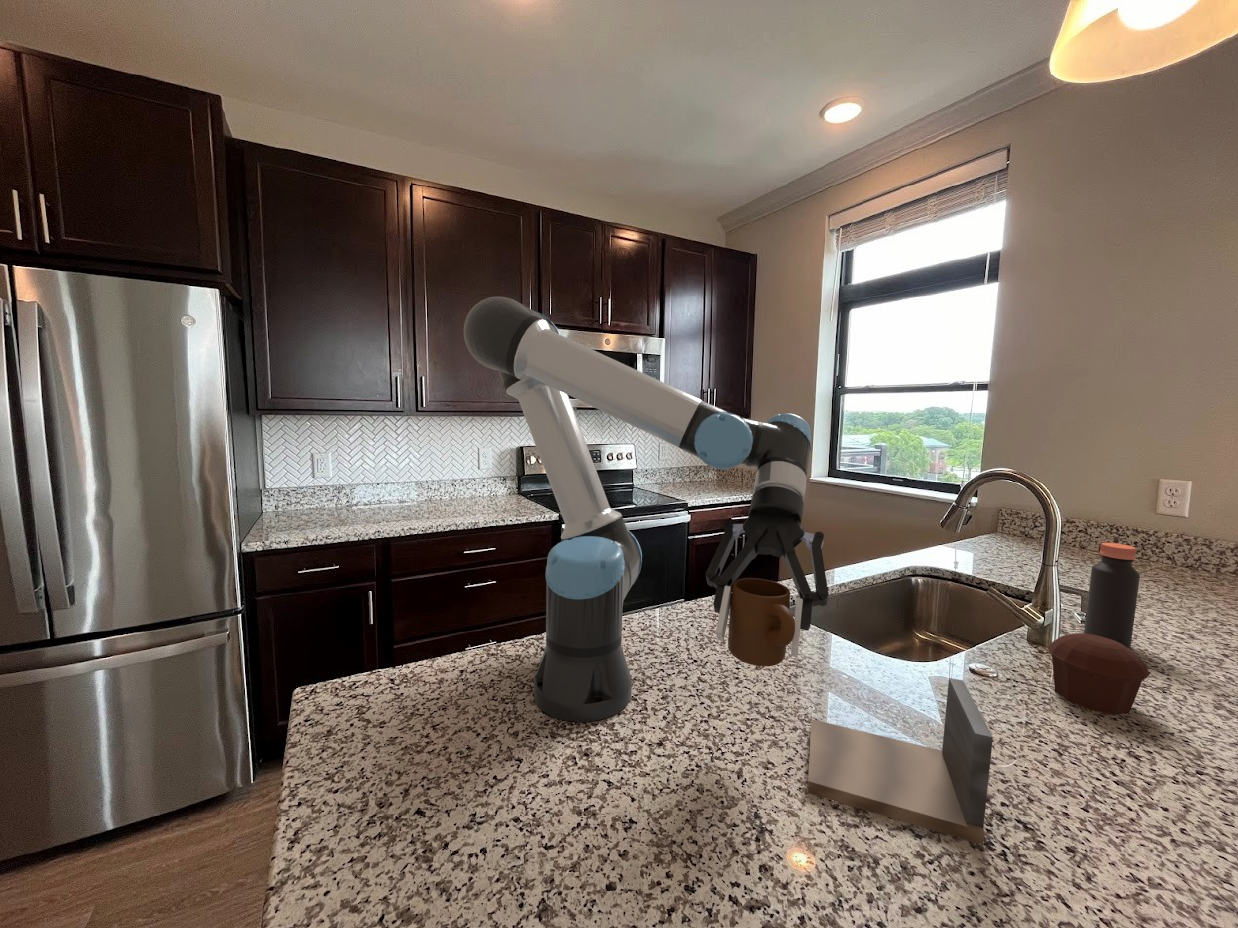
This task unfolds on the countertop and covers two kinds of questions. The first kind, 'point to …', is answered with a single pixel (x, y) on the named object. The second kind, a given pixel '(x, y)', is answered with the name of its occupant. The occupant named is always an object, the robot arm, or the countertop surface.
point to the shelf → (910, 771)
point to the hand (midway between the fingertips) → (756, 644)
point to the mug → (760, 621)
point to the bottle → (1113, 594)
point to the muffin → (1096, 672)
